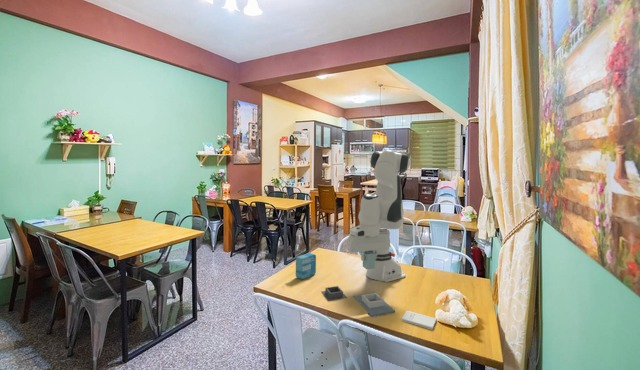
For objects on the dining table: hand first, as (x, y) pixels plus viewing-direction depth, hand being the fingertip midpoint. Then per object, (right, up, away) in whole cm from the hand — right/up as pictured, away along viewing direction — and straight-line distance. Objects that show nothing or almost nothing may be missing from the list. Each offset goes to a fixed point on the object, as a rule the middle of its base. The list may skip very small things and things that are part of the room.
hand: (368, 259), depth 133 cm
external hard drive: (+19, -23, -11) cm, 32 cm away
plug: (0, -4, 0) cm, 4 cm away
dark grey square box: (-15, -20, +9) cm, 27 cm away
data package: (-30, -18, +33) cm, 48 cm away
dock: (+2, -21, +1) cm, 21 cm away
